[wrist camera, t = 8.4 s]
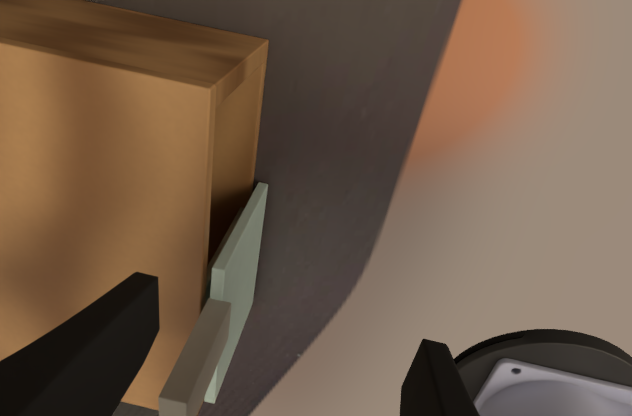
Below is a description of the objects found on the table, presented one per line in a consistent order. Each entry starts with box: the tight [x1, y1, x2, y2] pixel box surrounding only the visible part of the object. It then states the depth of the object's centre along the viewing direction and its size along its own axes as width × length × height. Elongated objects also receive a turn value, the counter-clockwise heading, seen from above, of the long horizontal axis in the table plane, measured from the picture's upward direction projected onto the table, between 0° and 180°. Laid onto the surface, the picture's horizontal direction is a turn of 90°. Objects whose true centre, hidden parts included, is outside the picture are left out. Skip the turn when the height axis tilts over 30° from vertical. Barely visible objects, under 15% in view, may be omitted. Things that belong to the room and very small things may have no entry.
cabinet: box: [0, 0, 269, 416], centre depth 20 cm, size 10×16×7 cm, turn 171°
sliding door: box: [158, 182, 268, 416], centre depth 19 cm, size 1×8×11 cm, turn 171°
